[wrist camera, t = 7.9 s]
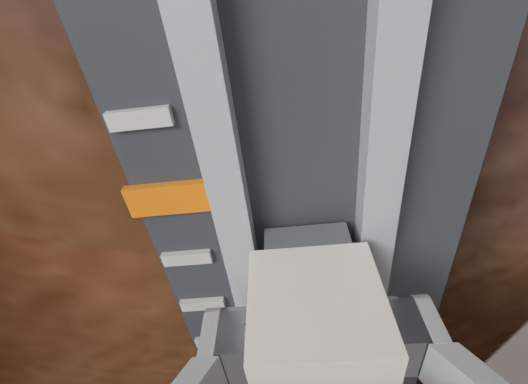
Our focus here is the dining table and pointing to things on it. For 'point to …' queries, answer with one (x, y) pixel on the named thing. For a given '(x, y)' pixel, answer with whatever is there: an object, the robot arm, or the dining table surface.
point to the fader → (319, 311)
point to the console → (297, 126)
